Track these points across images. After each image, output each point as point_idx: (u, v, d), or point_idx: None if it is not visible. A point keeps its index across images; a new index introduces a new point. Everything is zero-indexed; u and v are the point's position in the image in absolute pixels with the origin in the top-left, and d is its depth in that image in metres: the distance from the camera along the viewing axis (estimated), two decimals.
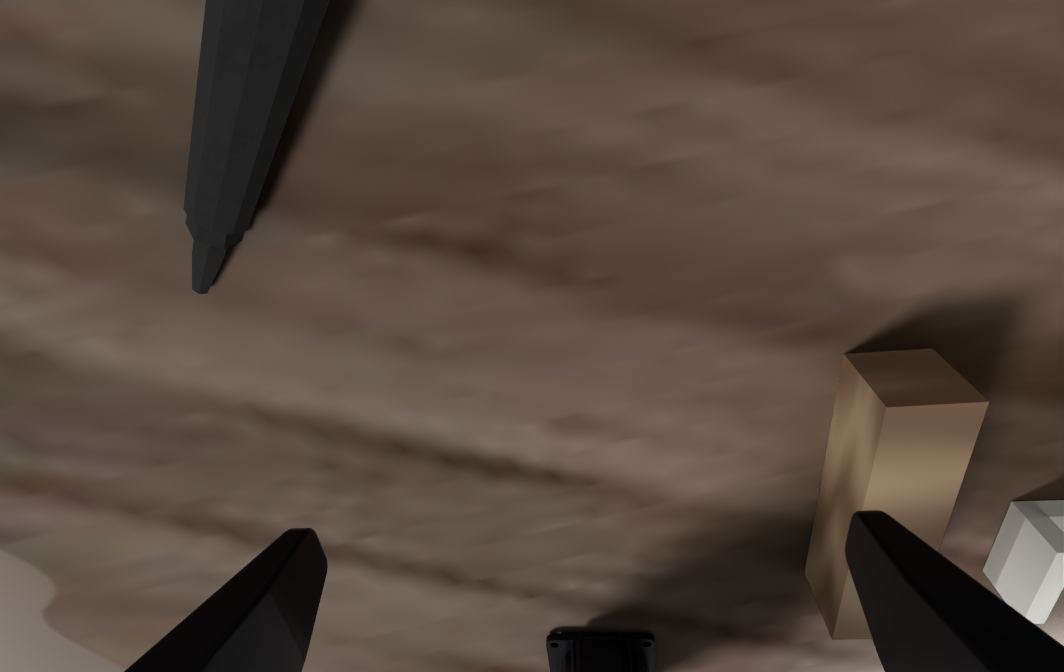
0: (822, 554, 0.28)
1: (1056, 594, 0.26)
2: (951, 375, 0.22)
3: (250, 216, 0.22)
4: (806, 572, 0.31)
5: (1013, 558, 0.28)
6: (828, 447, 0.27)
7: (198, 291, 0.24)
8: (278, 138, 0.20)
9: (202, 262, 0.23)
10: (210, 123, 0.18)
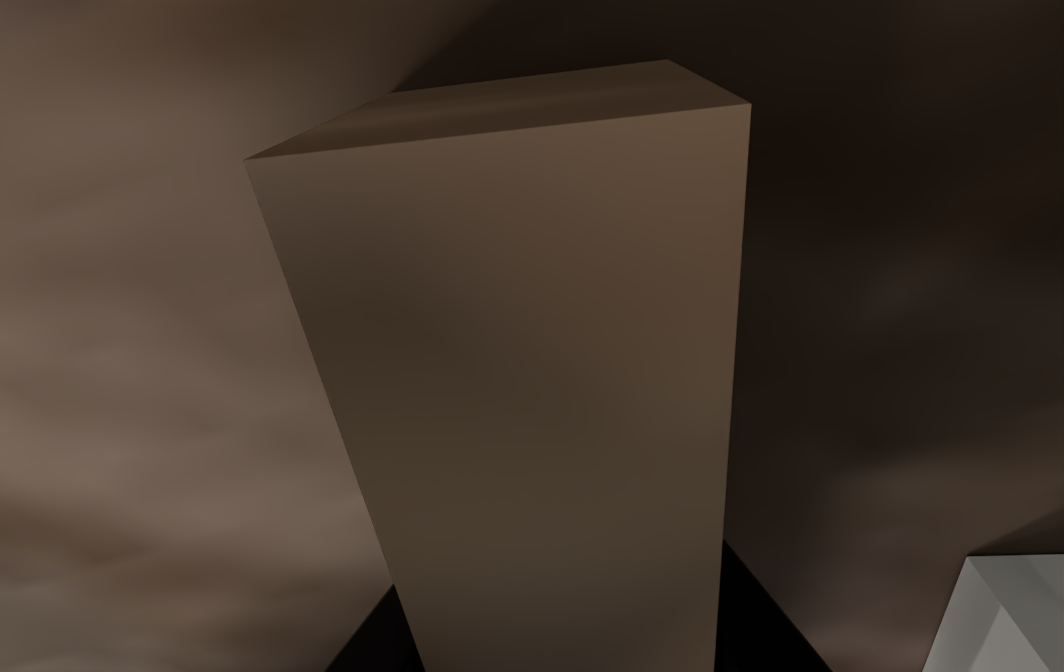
0: None
1: None
2: (662, 80, 0.05)
3: None
4: None
5: None
6: None
7: None
8: None
9: None
10: None
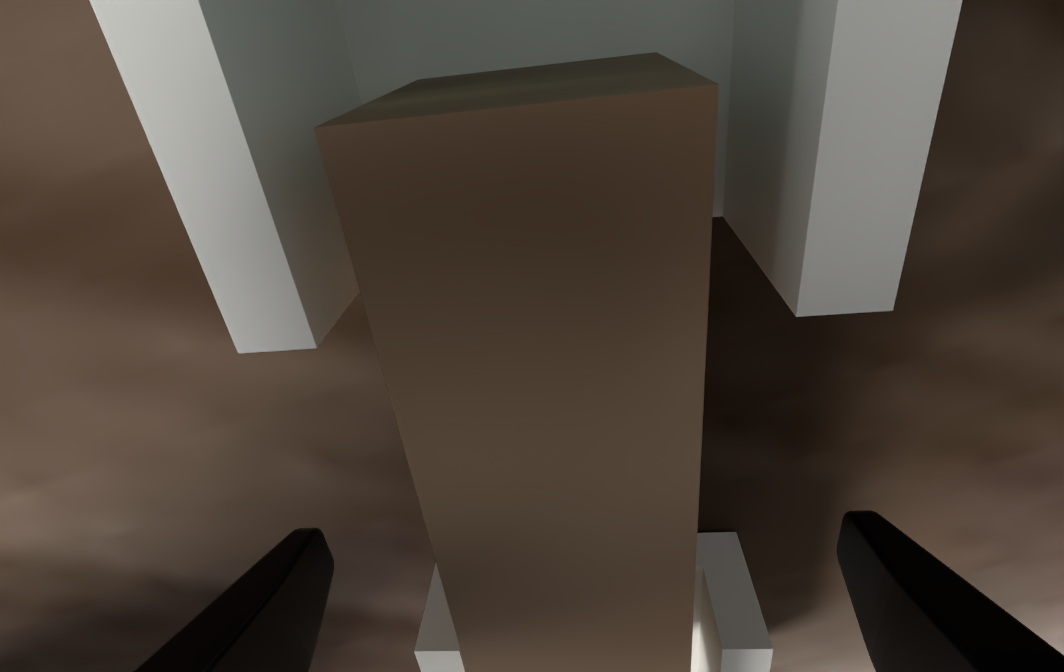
0: None
1: None
2: (652, 69, 0.06)
3: None
4: None
5: None
6: None
7: None
8: None
9: None
10: None
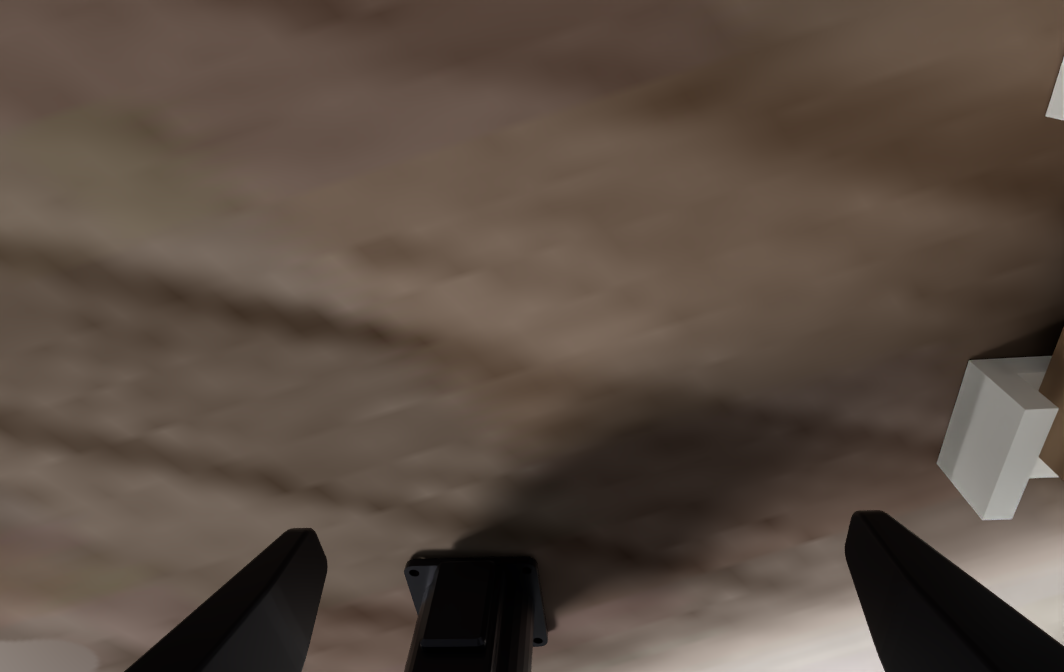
0: None
1: (1026, 475, 0.20)
2: None
3: None
4: None
5: (971, 435, 0.21)
6: None
7: None
8: None
9: None
10: None
